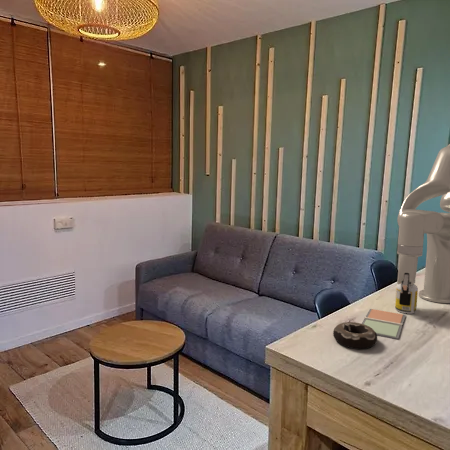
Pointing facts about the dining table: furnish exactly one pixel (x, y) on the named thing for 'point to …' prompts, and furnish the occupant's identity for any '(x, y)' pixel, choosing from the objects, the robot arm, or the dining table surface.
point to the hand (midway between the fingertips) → (406, 300)
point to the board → (384, 323)
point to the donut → (355, 335)
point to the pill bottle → (413, 301)
